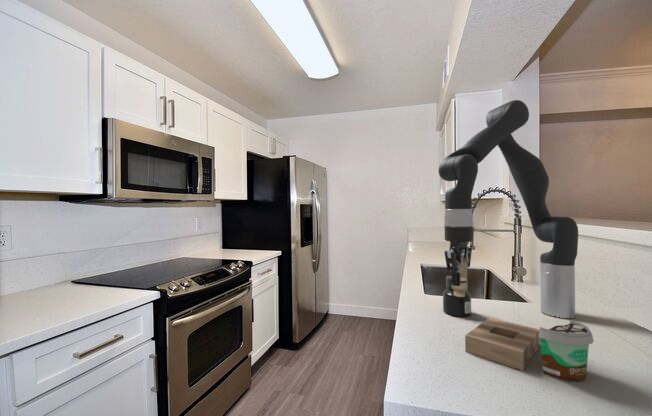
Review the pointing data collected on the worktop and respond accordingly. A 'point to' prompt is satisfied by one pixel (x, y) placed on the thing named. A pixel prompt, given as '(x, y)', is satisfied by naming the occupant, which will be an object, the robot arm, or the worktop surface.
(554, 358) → the food container
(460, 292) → the peg
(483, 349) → the board
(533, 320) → the worktop surface
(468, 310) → the ink bottle
